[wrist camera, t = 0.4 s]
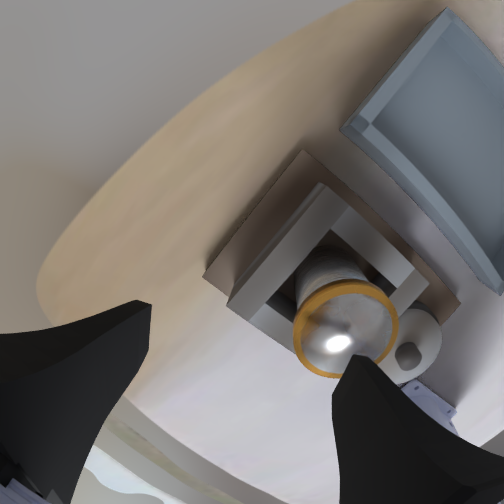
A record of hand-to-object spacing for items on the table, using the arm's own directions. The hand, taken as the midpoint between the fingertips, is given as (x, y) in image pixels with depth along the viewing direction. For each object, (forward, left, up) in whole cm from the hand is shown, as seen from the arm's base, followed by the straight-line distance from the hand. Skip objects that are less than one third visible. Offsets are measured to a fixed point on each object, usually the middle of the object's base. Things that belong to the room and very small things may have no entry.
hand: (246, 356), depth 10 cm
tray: (-6, -16, -10) cm, 20 cm away
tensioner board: (-5, -2, -10) cm, 12 cm away
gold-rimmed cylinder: (-3, -2, -9) cm, 10 cm away
